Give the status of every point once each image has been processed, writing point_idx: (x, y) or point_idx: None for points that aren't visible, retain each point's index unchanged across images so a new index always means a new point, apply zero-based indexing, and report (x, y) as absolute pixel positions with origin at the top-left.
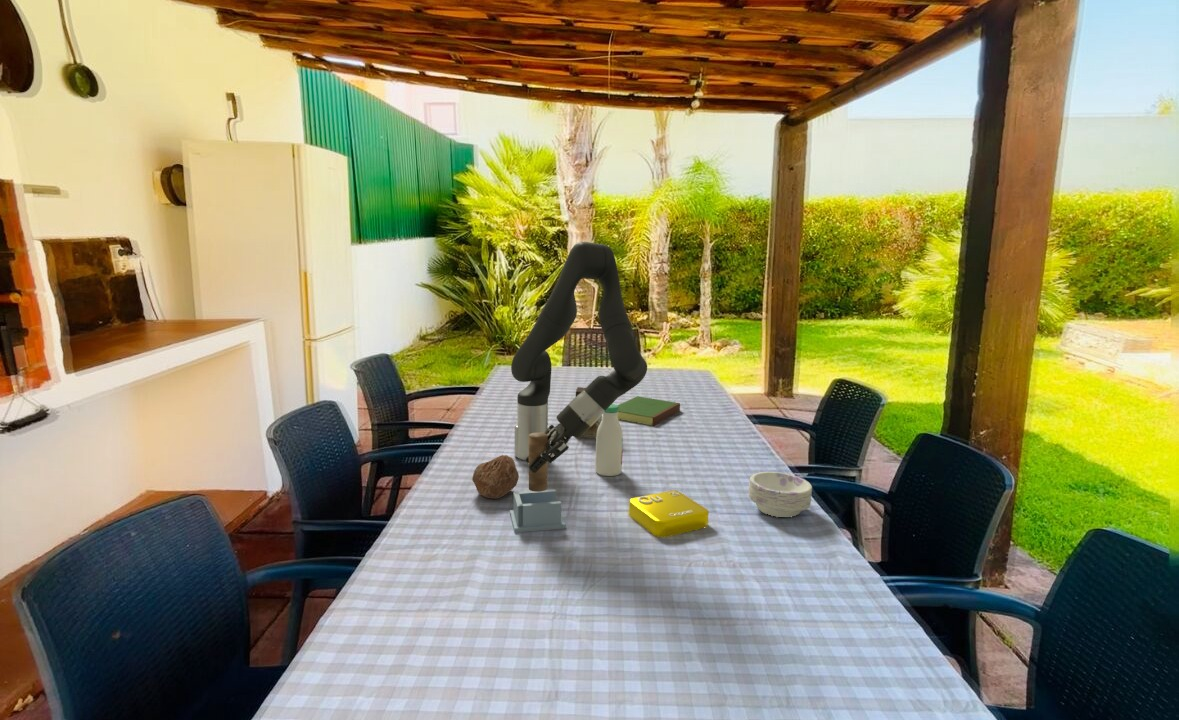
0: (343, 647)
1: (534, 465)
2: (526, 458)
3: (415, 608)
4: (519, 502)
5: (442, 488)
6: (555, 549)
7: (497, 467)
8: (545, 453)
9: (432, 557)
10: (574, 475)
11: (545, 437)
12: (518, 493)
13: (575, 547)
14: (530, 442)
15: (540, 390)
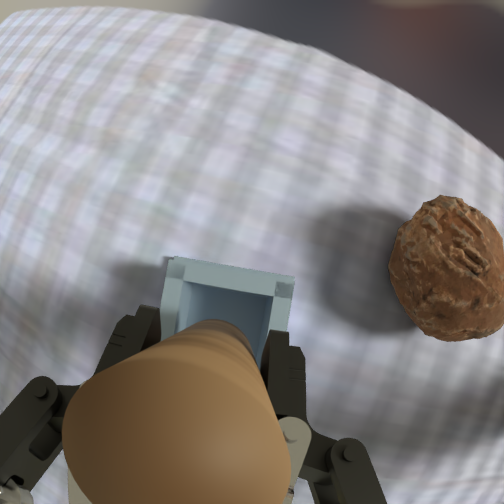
0: (31, 27)
1: (113, 332)
2: (277, 334)
3: (36, 70)
4: (197, 274)
5: (465, 166)
6: (67, 321)
7: (455, 262)
8: (35, 400)
9: (146, 80)
10: (442, 477)
11: (88, 497)
12: (277, 295)
13: (64, 366)
14: (143, 353)
15: None
